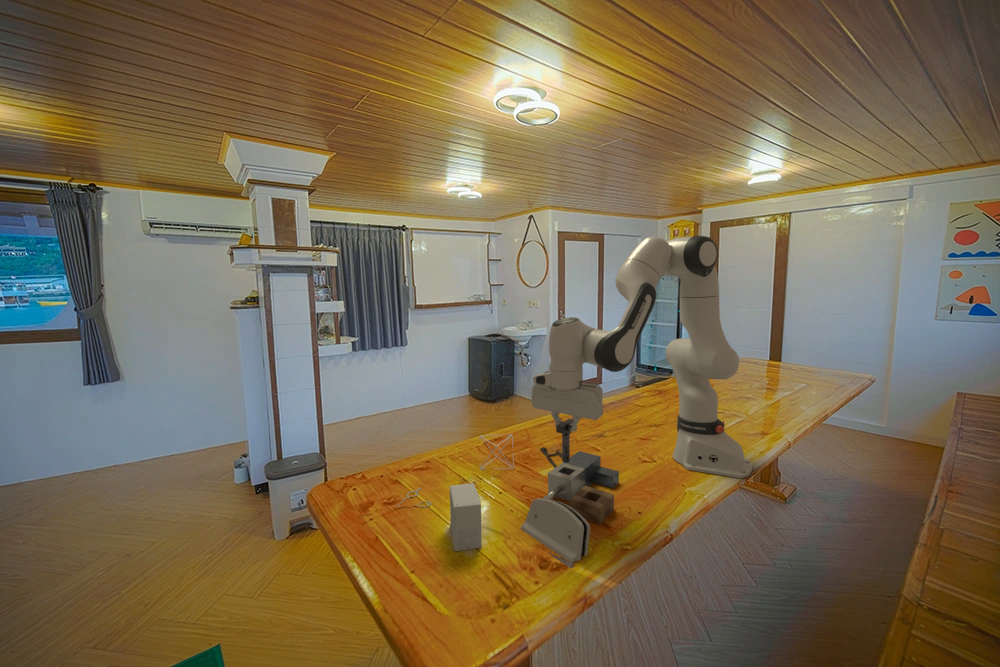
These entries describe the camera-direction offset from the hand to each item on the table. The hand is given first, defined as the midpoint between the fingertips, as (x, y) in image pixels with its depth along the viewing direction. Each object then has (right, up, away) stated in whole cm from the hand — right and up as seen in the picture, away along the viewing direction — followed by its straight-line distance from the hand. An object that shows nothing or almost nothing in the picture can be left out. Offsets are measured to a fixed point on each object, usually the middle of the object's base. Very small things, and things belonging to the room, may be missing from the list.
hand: (565, 429), depth 111 cm
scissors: (-46, -21, -1) cm, 50 cm away
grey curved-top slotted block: (-5, -22, -18) cm, 29 cm away
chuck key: (0, -9, +1) cm, 9 cm away
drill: (+4, -19, +2) cm, 19 cm away
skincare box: (-26, -22, -15) cm, 37 cm away
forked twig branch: (+4, -17, +23) cm, 29 cm away
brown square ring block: (+5, -20, -8) cm, 22 cm away
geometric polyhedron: (-19, -17, +23) cm, 34 cm away
